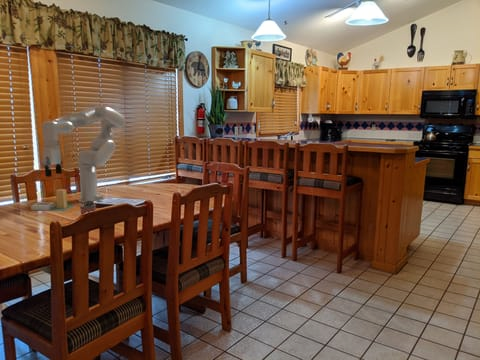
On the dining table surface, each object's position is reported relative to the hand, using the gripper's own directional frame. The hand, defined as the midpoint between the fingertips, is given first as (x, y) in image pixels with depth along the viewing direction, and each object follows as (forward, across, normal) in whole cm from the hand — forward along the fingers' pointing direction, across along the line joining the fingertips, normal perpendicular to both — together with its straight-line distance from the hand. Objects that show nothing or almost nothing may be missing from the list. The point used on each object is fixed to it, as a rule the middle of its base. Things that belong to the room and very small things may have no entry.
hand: (53, 175), depth 206 cm
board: (+19, +1, -1) cm, 19 cm away
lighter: (+20, +17, +27) cm, 38 cm away
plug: (+18, -1, +3) cm, 19 cm away
